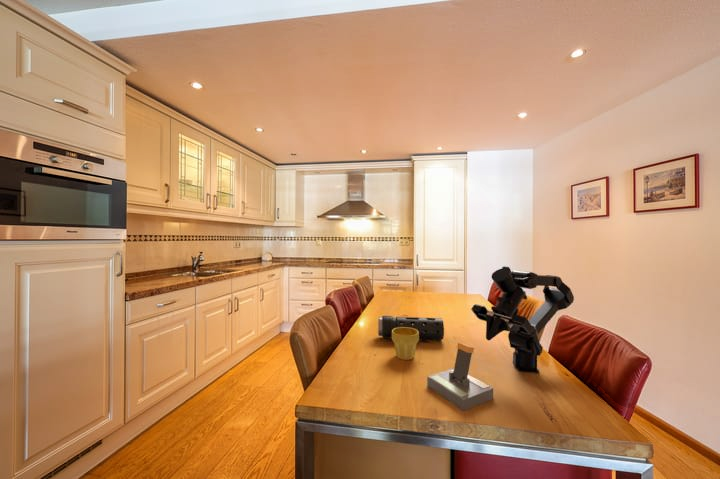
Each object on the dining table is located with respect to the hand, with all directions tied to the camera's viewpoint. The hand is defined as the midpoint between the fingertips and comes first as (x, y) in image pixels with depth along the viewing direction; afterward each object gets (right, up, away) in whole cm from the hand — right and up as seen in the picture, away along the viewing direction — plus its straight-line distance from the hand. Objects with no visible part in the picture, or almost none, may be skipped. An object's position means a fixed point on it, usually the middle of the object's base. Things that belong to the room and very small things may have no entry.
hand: (487, 339), depth 89 cm
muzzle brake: (-18, -13, +36) cm, 43 cm away
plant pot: (-23, -13, +19) cm, 33 cm away
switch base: (-11, -14, -6) cm, 19 cm away
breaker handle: (-11, -10, -6) cm, 16 cm away
